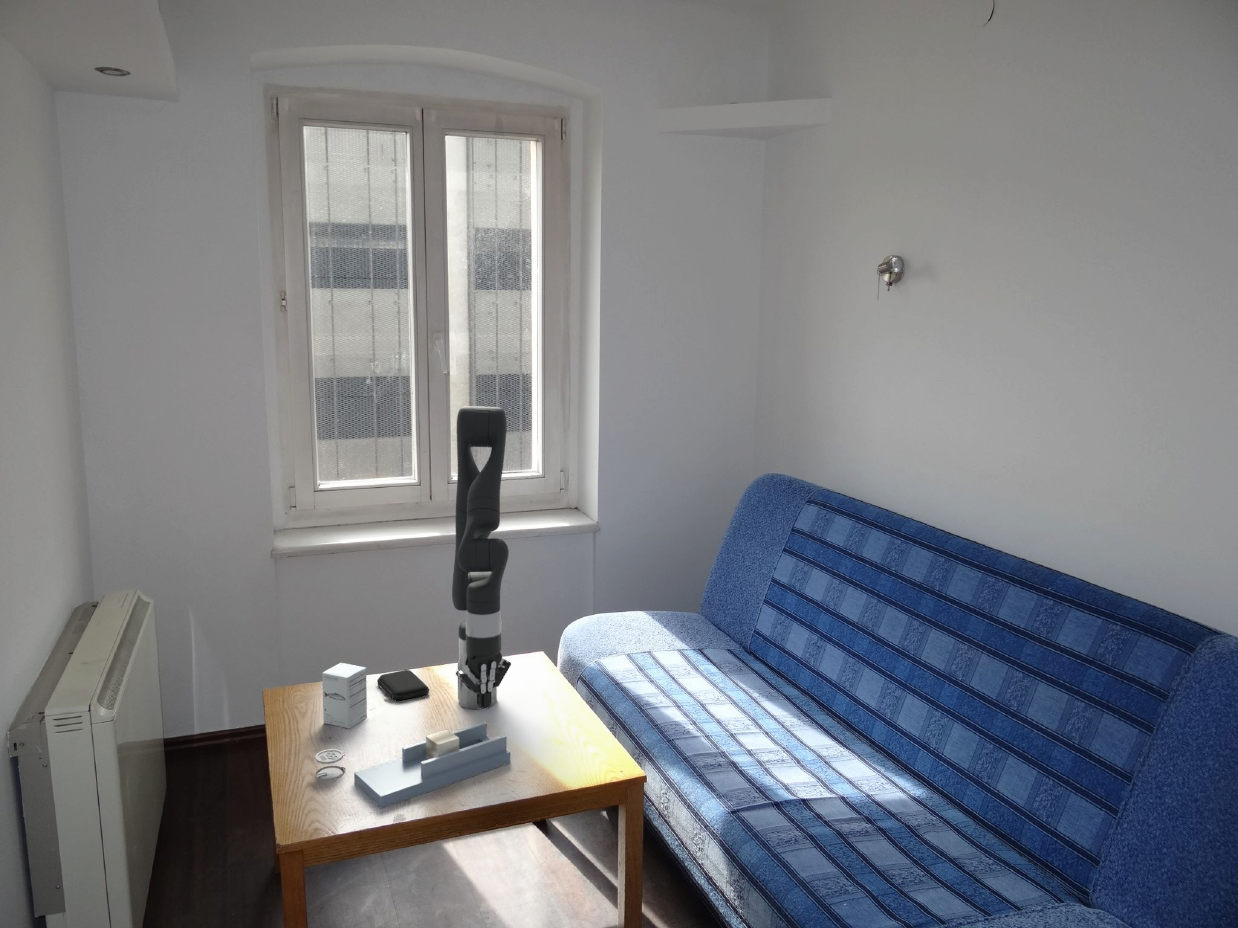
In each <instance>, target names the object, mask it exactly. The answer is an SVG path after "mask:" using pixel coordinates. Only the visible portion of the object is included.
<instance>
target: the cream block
mask: <svg viewBox="0 0 1238 928" xmlns="http://www.w3.org/2000/svg"><path fill="white" fill-rule="evenodd" d="M451 732H452V731H450V730H448V729H445V730H441V731H437V732H434V733H432V734H428V735H426V736H425V740H426V758H427V759H428V760H429V759H432V758H435V757H438V756H441V755H444V754H447V753H450V752H453V751H456V750H459V738H458V737H457V736H456V735H454V734H453V733H451Z"/></svg>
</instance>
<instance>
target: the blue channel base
mask: <svg viewBox="0 0 1238 928" xmlns="http://www.w3.org/2000/svg"><path fill="white" fill-rule="evenodd" d="M487 728H488V727H487V722H485V721H483V722H479V723H477V724H473V725H470V726H466V727H463V728H461V729H457V730H454V731H450V732H451V733H453V734H454V735H456V736H457V737H458V738H459V750H456V751H453V752H450V753H447V754H444V755H441V756H438V757H435V758H432V759H429V760H428V759H427V758H426V739H425V740H422V741H419V742H416V743H413V744H408V745H406V746H402V748H401V753H402V755H401V756H402V757H397V758H395V759H392V760H389V761H386V762H383V763H380V764H377V765H374V766H373V765H372V766H369V767H368V768H364V769H361V770H358V771H355V772H353V775H354V776H353V779H354V785H355V786H356V787H358V788H359V790H360V791H362V792H363V793H364V794H365V795H366V796H367V797H368V798H369V799H370V800H372V801H373V802H374V804H376V805H377V807H379V808H380V809H383V808H386V807H390V806H392V805H395V804H398V803H401V802H404V801H406V800H409V799H411V798H415V797H418V796H420V795H423V794H427V793H429V792H431V791H434V790H437V789H440V788H444V787H446V786H449V785H451V784H455V783H457V782H460V781H463V780H465V779H469V778H471V777H474V776H478V775H481V774H482V773H486V772H489V771H491V770H495V769H497V768H500V767H503V766H505V765H509V764H511V751H509V750H508V749H507V746H508V745H507V743H508V742H507V740H508V739H507V738H508V737H507V736H506V734H502V735H499V736H496V737H493V738H490V737H488V735H487V733H488V732H487Z"/></svg>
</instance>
